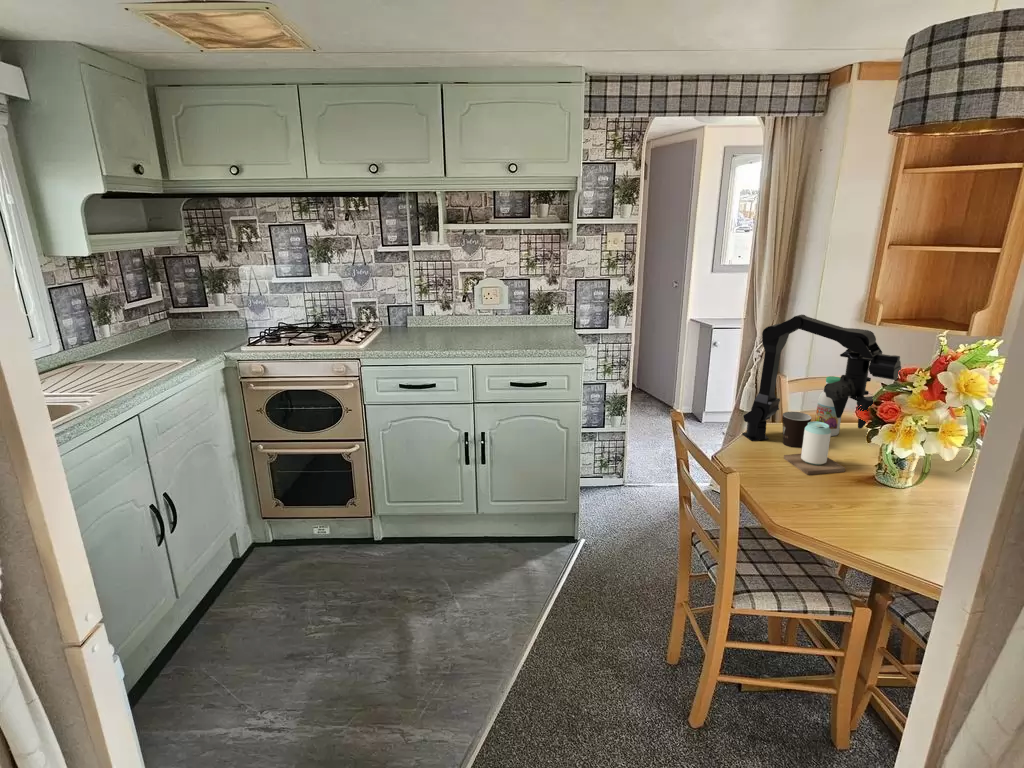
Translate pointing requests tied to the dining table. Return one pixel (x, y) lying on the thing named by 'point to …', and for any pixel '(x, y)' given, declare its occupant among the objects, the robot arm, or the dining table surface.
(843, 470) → the base board
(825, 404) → the milk bottle
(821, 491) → the dining table surface
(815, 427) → the can
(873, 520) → the dining table surface
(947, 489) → the dining table surface
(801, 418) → the coffee mug
